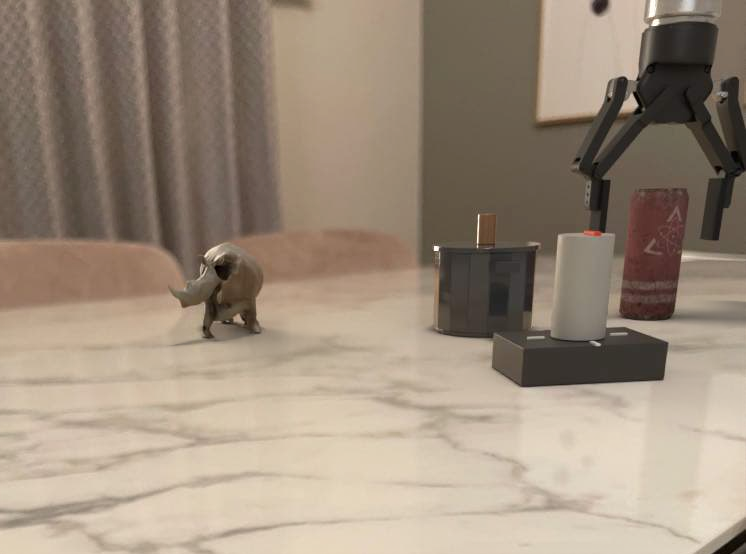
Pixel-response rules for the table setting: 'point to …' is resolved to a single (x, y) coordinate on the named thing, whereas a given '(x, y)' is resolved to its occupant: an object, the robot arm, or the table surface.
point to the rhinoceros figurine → (225, 287)
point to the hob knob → (582, 285)
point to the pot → (483, 292)
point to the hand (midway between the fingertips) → (652, 241)
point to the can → (653, 253)
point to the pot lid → (486, 240)
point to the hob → (578, 357)
